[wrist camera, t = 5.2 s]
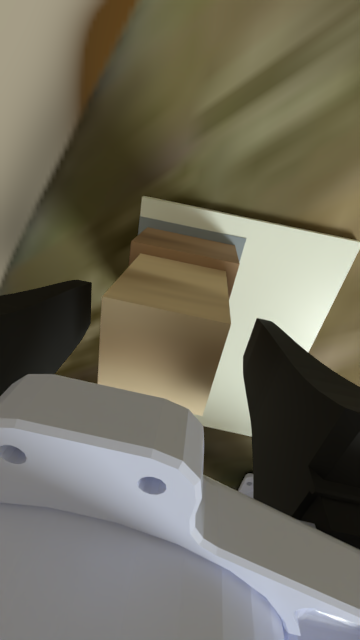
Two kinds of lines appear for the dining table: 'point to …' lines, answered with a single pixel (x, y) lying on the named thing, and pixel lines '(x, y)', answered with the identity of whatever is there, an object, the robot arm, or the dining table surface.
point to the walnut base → (187, 251)
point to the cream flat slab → (259, 288)
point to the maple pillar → (164, 330)
